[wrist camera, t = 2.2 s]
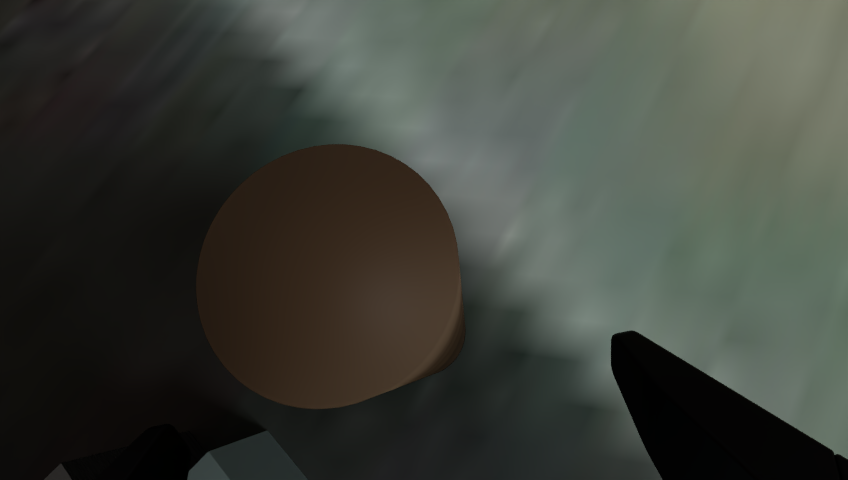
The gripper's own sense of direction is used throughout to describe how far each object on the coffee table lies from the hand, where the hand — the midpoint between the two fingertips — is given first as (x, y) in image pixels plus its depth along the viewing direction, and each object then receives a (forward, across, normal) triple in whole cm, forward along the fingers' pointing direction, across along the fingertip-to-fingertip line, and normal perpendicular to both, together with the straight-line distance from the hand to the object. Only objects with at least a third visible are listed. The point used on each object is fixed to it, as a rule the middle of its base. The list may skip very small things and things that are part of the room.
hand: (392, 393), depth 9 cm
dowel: (+8, 0, +5) cm, 10 cm away
